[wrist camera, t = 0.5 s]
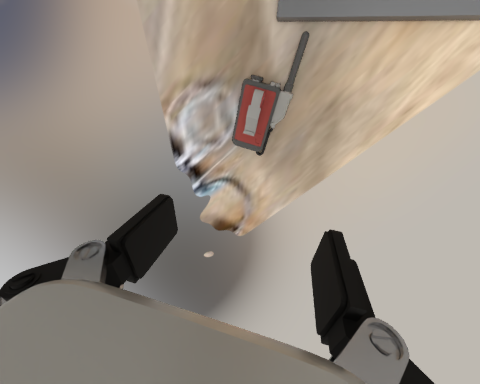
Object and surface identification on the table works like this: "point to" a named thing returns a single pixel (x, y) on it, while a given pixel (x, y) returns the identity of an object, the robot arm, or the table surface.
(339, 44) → the table surface
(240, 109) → the walkie-talkie
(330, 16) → the button panel
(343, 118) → the table surface
